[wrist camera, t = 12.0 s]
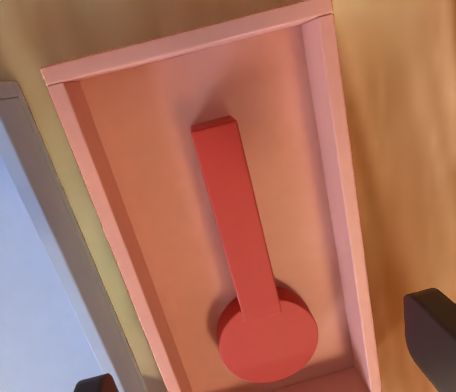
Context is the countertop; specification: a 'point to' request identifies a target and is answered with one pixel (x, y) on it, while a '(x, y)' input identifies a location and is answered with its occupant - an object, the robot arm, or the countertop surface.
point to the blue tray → (49, 274)
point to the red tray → (198, 196)
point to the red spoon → (250, 268)
